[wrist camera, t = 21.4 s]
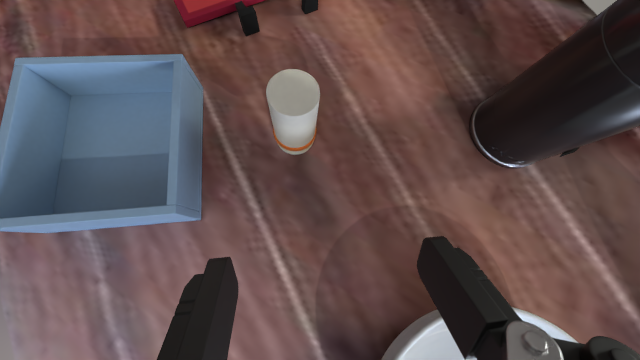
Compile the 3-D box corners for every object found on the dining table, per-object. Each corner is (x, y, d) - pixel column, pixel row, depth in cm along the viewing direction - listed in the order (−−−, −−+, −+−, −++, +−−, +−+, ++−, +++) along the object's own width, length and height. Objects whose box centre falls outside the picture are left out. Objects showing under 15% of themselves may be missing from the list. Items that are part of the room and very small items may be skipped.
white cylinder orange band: (288, 111, 30) (283, 57, 21) (322, 130, 30) (332, 84, 21) (266, 143, 29) (252, 100, 20) (302, 163, 29) (303, 128, 20)
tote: (69, 92, 28) (15, 57, 23) (203, 88, 30) (182, 53, 24) (47, 233, 25) (-24, 230, 19) (201, 219, 26) (175, 214, 21)
